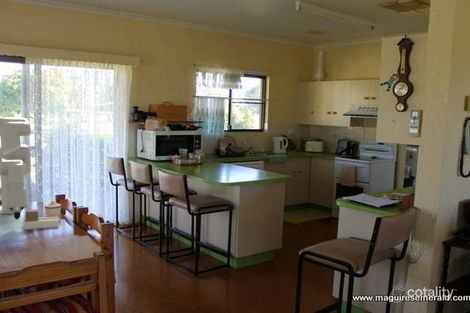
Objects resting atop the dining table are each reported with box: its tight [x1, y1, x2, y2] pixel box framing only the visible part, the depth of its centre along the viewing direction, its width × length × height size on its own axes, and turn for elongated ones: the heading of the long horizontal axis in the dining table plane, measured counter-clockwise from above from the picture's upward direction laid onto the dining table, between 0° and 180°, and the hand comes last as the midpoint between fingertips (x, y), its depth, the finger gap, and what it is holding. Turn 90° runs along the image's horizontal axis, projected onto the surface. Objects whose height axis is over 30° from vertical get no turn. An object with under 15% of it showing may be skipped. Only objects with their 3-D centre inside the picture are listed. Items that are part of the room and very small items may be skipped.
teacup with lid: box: [44, 200, 62, 222], centre depth 250 cm, size 12×9×12 cm
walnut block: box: [25, 208, 39, 222], centre depth 234 cm, size 5×6×8 cm
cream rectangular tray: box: [22, 216, 60, 230], centre depth 236 cm, size 8×18×4 cm, turn 114°
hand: (17, 218), depth 231 cm, fingers closed
